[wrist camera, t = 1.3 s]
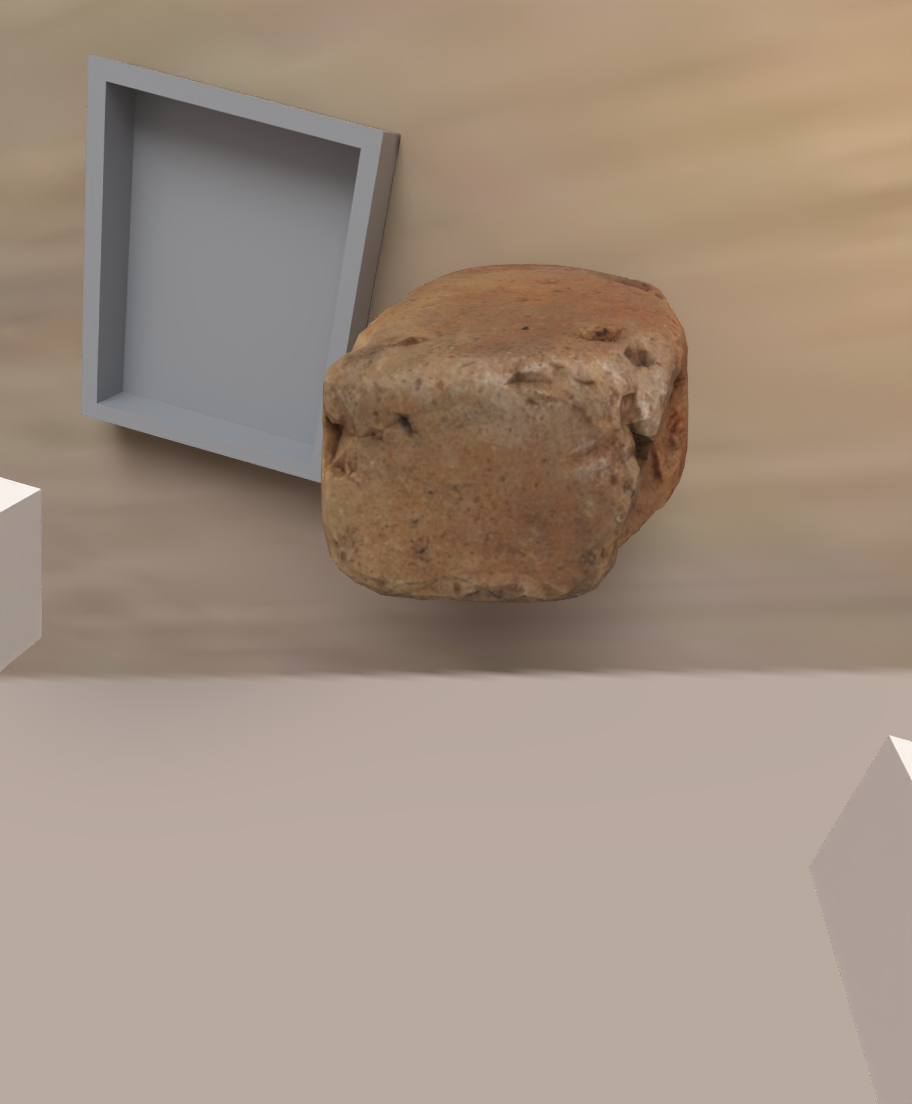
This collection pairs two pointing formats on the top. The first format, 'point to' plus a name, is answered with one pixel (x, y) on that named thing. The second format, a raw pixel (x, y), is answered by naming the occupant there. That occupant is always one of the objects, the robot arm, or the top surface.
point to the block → (503, 434)
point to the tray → (223, 261)
